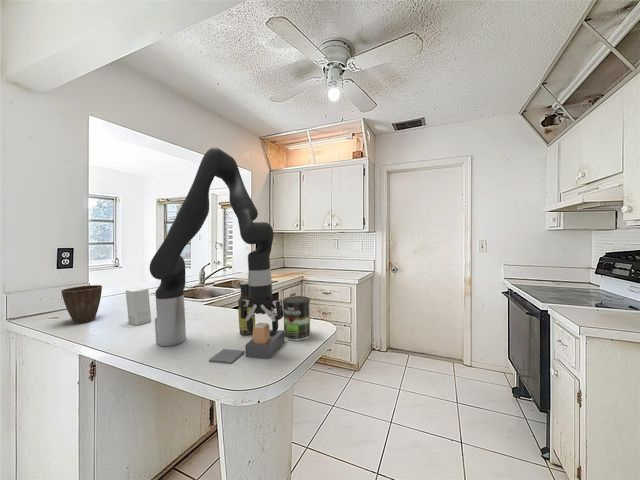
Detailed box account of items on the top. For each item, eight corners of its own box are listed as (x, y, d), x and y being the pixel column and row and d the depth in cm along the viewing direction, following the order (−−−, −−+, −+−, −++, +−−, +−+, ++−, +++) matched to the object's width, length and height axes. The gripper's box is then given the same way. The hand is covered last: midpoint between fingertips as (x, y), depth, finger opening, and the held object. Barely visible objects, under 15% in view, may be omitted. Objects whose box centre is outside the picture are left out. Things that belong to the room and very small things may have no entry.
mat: (208, 361, 88) (208, 359, 88) (223, 350, 95) (223, 349, 95) (231, 363, 86) (231, 361, 86) (244, 352, 94) (244, 350, 94)
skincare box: (151, 321, 130) (149, 288, 129) (135, 326, 124) (133, 291, 124) (142, 319, 134) (140, 287, 134) (127, 323, 129) (125, 289, 128)
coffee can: (304, 342, 100) (303, 303, 100) (279, 339, 104) (277, 301, 103) (315, 332, 110) (313, 296, 110) (291, 329, 114) (290, 295, 113)
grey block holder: (245, 357, 90) (245, 344, 90) (264, 339, 104) (263, 329, 104) (268, 358, 88) (268, 346, 88) (284, 341, 102) (284, 330, 102)
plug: (254, 355, 91) (252, 326, 91) (259, 349, 95) (258, 322, 95) (265, 355, 91) (264, 326, 90) (270, 350, 94) (269, 322, 94)
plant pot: (59, 323, 132) (56, 289, 132) (97, 314, 145) (95, 283, 144) (69, 328, 124) (66, 292, 123) (109, 319, 136) (107, 286, 136)
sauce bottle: (257, 333, 111) (255, 283, 110) (242, 336, 108) (240, 285, 107) (252, 328, 116) (250, 281, 116) (237, 332, 113) (235, 283, 112)
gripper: (284, 280, 94) (286, 328, 95) (245, 280, 98) (248, 326, 98) (276, 285, 87) (278, 336, 88) (234, 285, 90) (237, 334, 91)
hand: (262, 331), depth 93 cm, fingers open, 8 cm apart
